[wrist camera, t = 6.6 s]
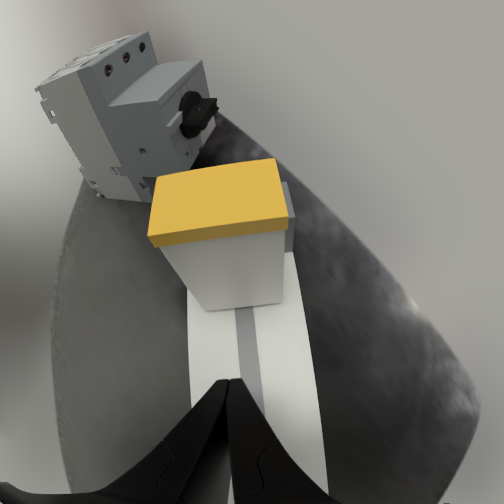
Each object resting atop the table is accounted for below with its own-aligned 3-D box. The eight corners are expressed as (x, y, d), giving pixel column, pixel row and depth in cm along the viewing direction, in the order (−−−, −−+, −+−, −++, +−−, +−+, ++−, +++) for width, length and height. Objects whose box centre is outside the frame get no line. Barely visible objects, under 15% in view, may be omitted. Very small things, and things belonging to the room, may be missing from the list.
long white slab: (328, 531, 10) (346, 573, 5) (215, 539, 10) (191, 581, 5) (285, 229, 22) (286, 172, 17) (193, 241, 23) (169, 190, 17)
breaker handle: (284, 303, 17) (288, 216, 10) (203, 312, 17) (147, 236, 10) (277, 259, 19) (274, 158, 11) (202, 268, 19) (156, 176, 11)
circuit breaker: (212, 210, 24) (165, 46, 11) (97, 197, 27) (33, 89, 14) (237, 156, 28) (214, 18, 15) (129, 152, 31) (85, 50, 18)
